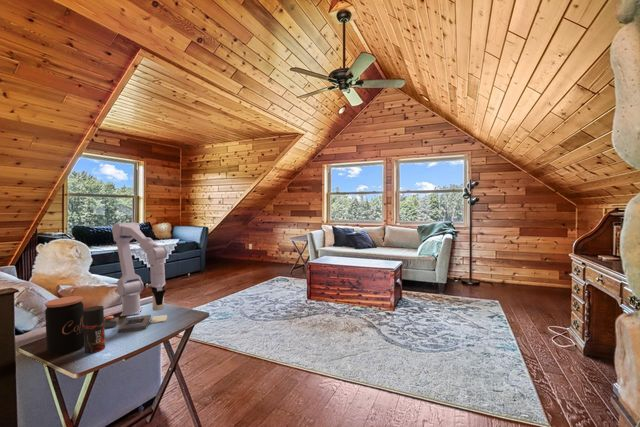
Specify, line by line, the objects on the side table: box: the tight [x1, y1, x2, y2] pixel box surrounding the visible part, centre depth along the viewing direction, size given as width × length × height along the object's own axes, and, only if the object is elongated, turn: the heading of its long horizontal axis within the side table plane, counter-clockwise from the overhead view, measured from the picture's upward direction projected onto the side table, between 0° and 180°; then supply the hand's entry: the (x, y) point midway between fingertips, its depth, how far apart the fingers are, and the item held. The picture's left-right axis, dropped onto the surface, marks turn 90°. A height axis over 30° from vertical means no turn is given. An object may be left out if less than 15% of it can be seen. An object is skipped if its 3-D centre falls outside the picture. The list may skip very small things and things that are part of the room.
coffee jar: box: [44, 295, 85, 356], centre depth 112 cm, size 11×11×18 cm
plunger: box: [104, 315, 115, 322], centre depth 133 cm, size 3×3×3 cm
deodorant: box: [83, 305, 106, 354], centre depth 111 cm, size 6×6×15 cm
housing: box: [117, 314, 152, 334], centre depth 134 cm, size 14×10×2 cm
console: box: [104, 316, 120, 329], centre depth 133 cm, size 5×6×2 cm
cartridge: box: [151, 293, 165, 312], centre depth 139 cm, size 5×5×7 cm
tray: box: [150, 314, 168, 324], centre depth 140 cm, size 8×6×1 cm
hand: (158, 303), depth 139 cm, fingers closed on cartridge, 5 cm apart
